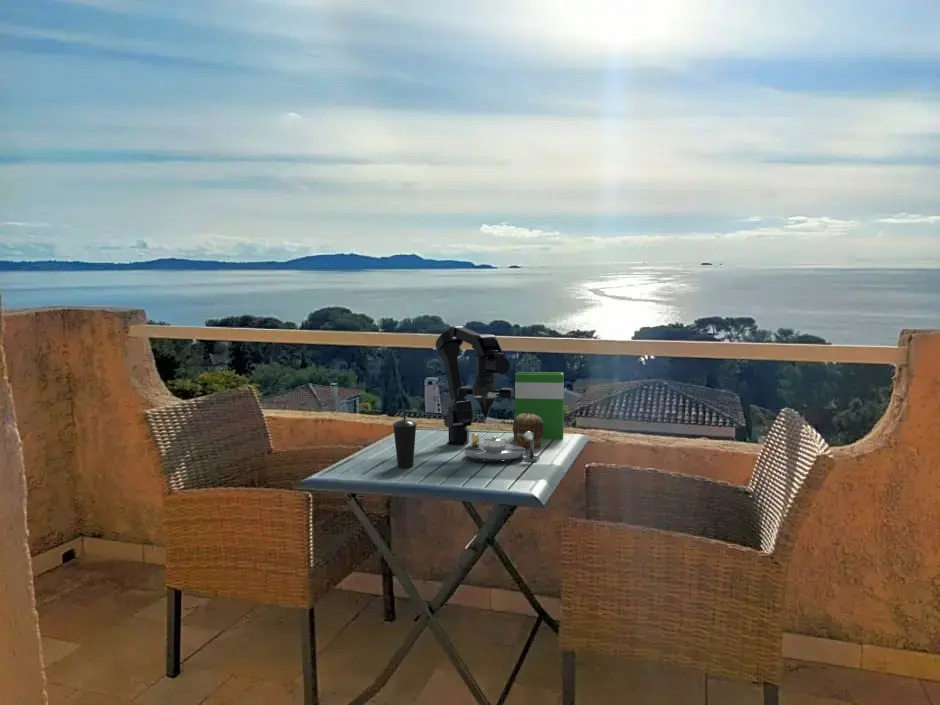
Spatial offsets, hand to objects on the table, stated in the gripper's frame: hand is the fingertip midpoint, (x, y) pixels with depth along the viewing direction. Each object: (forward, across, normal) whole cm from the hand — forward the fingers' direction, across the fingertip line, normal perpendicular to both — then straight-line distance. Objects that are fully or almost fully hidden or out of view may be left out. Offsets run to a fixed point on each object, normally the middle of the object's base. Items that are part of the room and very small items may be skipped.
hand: (485, 417), depth 251 cm
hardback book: (+12, +12, +31) cm, 35 cm away
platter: (+10, +5, -7) cm, 14 cm away
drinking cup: (+12, -19, -26) cm, 34 cm away
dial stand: (+12, +16, -7) cm, 21 cm away
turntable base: (+12, +5, -7) cm, 15 cm away
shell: (+12, +12, +12) cm, 21 cm away
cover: (+9, +5, -7) cm, 13 cm away
